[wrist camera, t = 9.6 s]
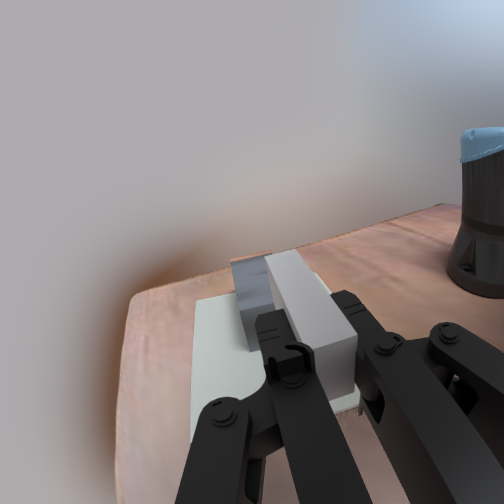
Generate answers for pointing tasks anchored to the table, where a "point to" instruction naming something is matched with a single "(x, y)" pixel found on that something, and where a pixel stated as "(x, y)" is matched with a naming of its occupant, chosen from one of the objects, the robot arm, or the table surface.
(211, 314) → the sage mat
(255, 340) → the slate block
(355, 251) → the table surface
